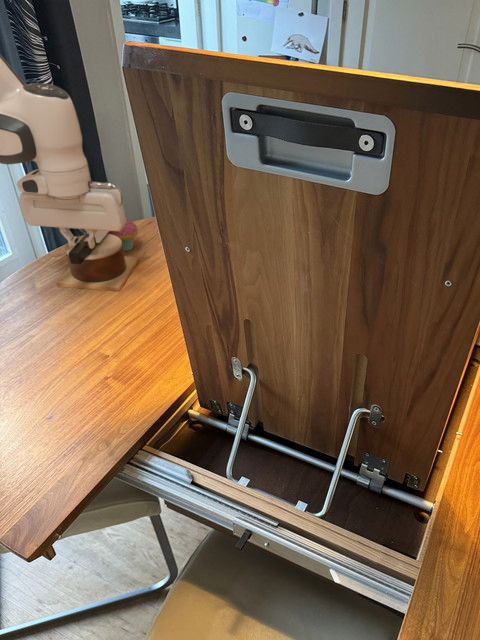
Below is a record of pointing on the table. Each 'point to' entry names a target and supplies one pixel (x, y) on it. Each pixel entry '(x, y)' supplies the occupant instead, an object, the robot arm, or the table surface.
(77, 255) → the knife
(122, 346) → the table surface
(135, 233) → the cupcake
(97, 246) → the cake
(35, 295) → the table surface
